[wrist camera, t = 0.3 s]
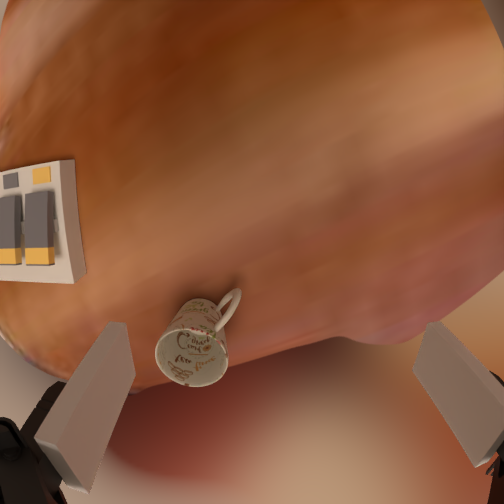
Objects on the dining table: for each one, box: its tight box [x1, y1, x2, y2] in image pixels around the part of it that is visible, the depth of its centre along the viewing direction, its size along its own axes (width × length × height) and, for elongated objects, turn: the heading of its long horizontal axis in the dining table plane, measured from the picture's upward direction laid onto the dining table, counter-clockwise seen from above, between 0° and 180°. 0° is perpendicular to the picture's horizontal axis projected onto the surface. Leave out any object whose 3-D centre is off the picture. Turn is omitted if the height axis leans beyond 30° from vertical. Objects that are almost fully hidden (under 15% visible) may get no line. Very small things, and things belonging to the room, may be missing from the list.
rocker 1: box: [0, 195, 22, 266], centre depth 32 cm, size 9×4×1 cm, turn 0°
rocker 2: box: [25, 191, 55, 266], centre depth 32 cm, size 9×4×1 cm, turn 0°
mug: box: [155, 288, 241, 387], centre depth 37 cm, size 8×13×10 cm, turn 141°
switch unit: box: [0, 159, 87, 284], centre depth 35 cm, size 16×18×5 cm
